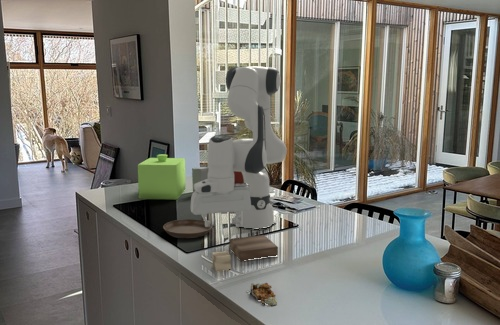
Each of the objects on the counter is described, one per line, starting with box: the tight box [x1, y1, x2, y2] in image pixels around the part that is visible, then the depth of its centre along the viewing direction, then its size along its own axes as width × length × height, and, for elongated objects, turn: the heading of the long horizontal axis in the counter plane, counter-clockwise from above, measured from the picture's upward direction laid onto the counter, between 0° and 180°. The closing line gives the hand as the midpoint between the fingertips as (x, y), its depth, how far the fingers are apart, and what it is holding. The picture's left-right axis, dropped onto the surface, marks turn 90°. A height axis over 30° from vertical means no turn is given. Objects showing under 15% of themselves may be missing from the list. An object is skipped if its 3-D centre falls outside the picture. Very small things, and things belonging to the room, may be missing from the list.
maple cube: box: [211, 250, 232, 273], centre depth 154 cm, size 5×5×5 cm
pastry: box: [250, 282, 278, 307], centre depth 133 cm, size 7×12×4 cm, turn 30°
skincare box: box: [191, 166, 209, 193], centre depth 260 cm, size 8×7×16 cm
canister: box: [137, 153, 186, 201], centre depth 260 cm, size 25×21×23 cm
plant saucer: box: [162, 218, 213, 239], centre depth 192 cm, size 21×21×3 cm
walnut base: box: [229, 234, 279, 262], centre depth 168 cm, size 14×14×4 cm
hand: (221, 225), depth 152 cm, fingers open, 8 cm apart
